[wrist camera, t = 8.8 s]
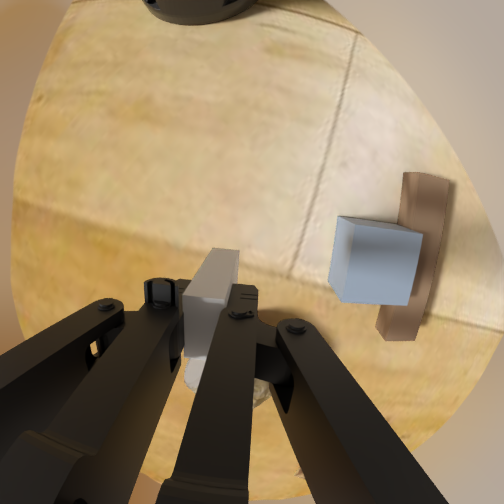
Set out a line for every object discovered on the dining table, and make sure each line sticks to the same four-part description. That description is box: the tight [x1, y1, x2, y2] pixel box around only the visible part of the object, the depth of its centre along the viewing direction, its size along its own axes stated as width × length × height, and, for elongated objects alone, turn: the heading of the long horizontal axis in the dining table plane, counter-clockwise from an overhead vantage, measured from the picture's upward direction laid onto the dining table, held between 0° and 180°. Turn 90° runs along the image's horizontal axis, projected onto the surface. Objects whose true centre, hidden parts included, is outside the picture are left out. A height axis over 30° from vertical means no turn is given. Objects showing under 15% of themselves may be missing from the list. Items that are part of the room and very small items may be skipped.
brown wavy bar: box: [375, 172, 449, 341], centre depth 28 cm, size 18×4×4 cm, turn 175°
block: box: [328, 216, 423, 306], centre depth 27 cm, size 7×7×6 cm
